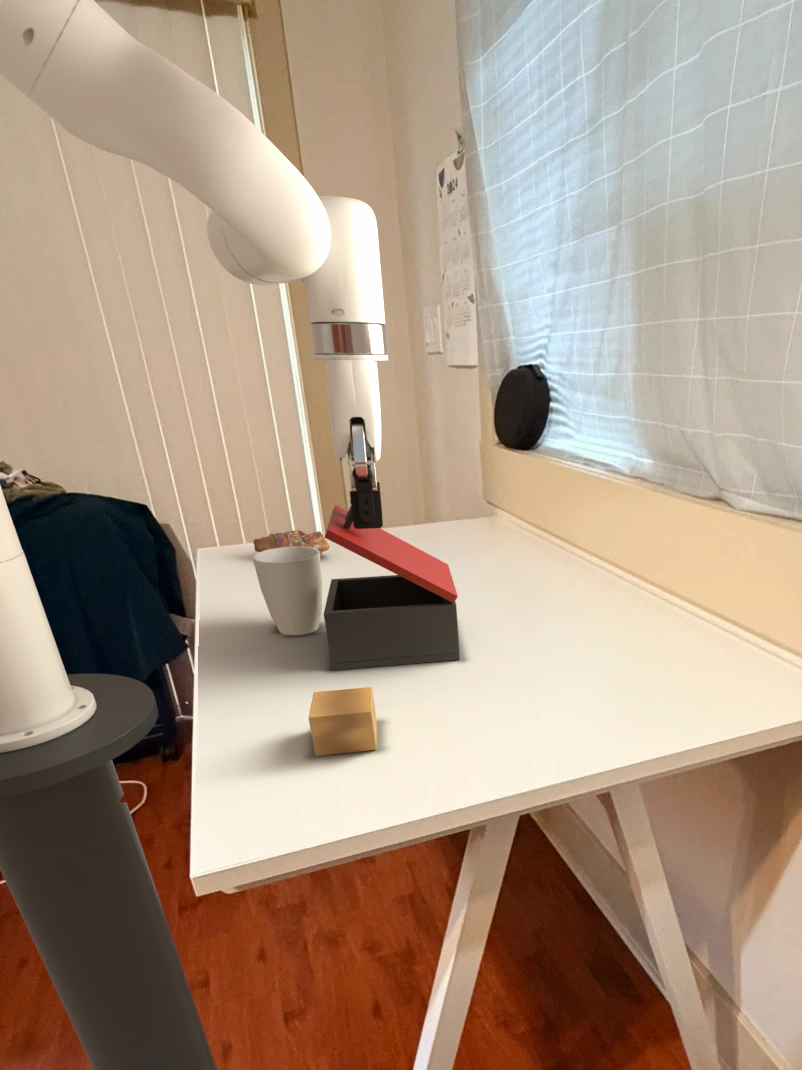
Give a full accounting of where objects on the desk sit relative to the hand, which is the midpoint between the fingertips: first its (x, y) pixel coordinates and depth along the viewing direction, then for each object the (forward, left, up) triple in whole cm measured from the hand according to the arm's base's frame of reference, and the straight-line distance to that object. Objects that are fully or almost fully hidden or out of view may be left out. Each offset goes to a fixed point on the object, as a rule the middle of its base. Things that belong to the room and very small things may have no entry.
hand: (368, 520), depth 82 cm
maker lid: (+2, 0, -4) cm, 5 cm away
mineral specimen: (-15, +45, -16) cm, 50 cm away
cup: (-11, +8, -16) cm, 21 cm away
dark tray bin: (+2, 0, -15) cm, 15 cm away
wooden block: (-3, -24, -15) cm, 29 cm away
